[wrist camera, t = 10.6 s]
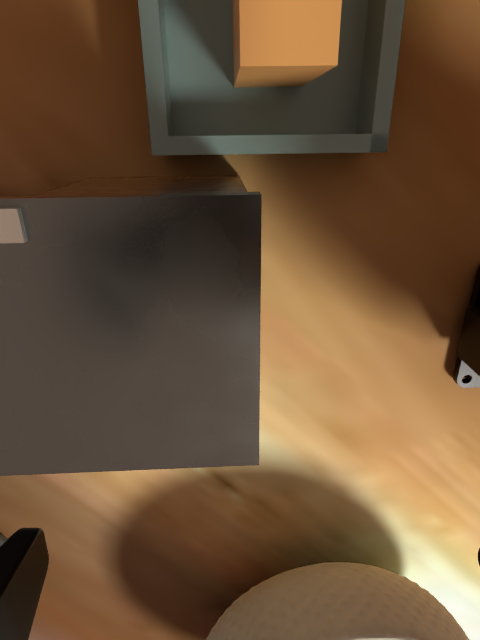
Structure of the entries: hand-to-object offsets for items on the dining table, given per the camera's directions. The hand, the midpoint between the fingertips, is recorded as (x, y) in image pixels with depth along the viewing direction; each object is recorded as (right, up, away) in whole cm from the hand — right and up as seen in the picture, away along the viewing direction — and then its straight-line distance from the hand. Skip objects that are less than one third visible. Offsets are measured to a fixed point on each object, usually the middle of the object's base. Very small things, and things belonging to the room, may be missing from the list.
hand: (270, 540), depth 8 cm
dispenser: (-9, +6, +10) cm, 15 cm away
